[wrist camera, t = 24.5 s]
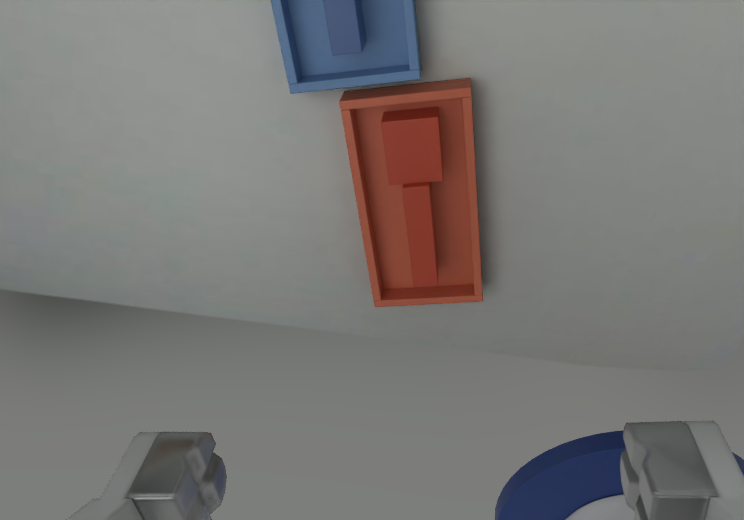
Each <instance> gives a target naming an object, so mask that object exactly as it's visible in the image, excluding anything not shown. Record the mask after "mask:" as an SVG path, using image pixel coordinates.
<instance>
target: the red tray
mask: <svg viewBox="0 0 744 520" xmlns="http://www.w3.org/2000/svg"><path fill="white" fill-rule="evenodd" d="M428 107H439V118H440V131H441V145H442V158H443V181H440V182H431V186H432V197H433V209H434V220H435V232H436V243H437V254H438V266H439V273H438V286H424V287H414V286H413V278H412V269H411V261H410V252H409V244H408V235H407V226H406V218H405V209H404V201H403V192H402V186H403V184H400V185H389V182H388V174H387V166H386V159H385V151H384V143H383V135H382V127H381V120H382V116H383V112H386V111H397V110H407V109H418V108H428ZM340 108H341V113H342V119H343V125H344V131H345V137H346V142H347V148H348V154H349V160H350V166H351V172H352V177H353V183H354V189H355V195H356V201H357V206H358V212H359V218H360V224H361V230H362V236H363V241H364V247H365V253H366V259H367V265H368V270H369V276H370V282H371V288H372V294H373V299H374V305H375V307H385V306H404V305H423V304H442V303H461V302H480V301H483V292H482V274H481V256H480V237H479V219H478V201H477V183H476V164H475V146H474V128H473V110H472V91H471V81H470V78H464V79H455V80H446V81H437V82H428V83H419V84H410V85H401V86H392V87H383V88H374V89H365V90H356V91H347V92H344V93H343V95H342V97H341V99H340Z"/></svg>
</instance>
